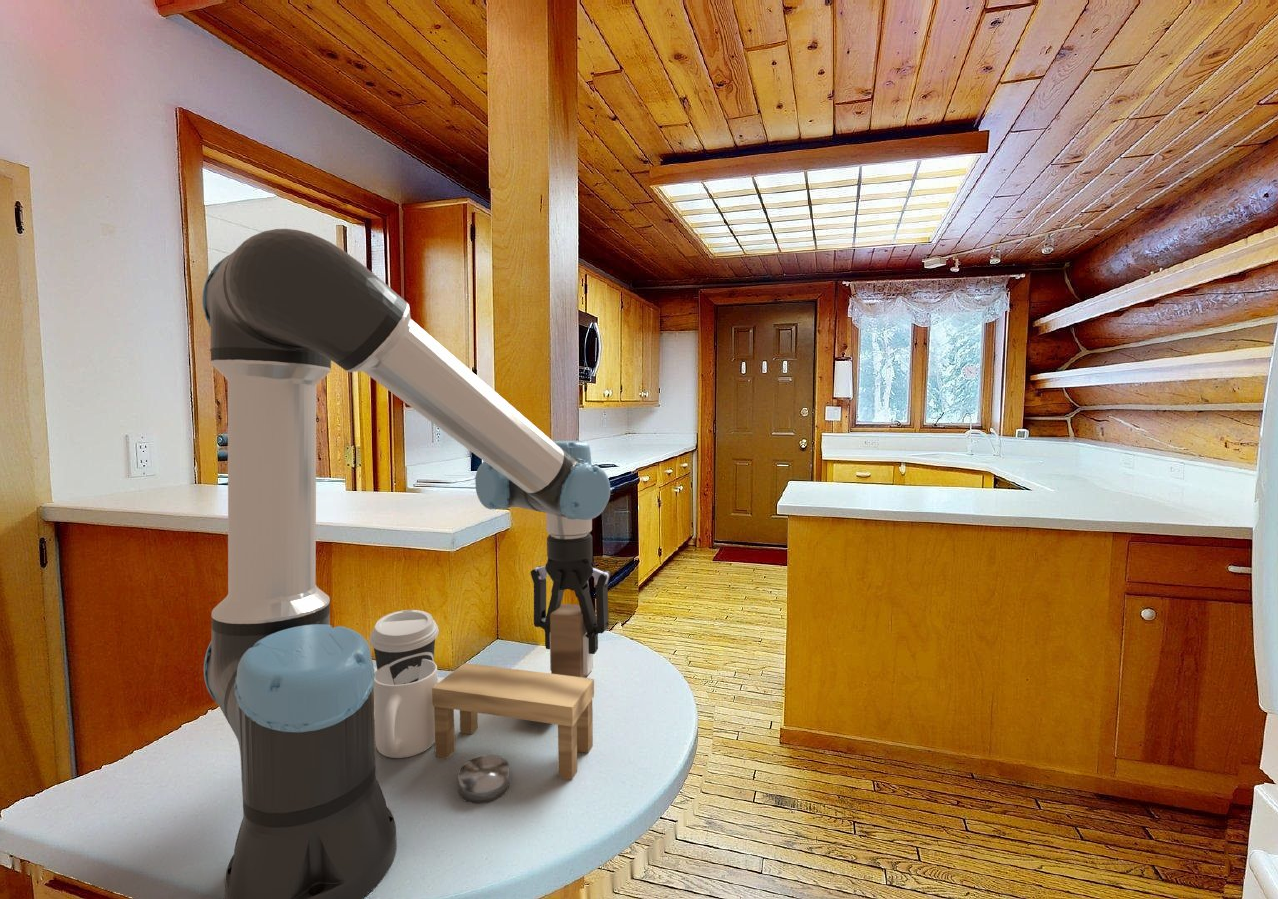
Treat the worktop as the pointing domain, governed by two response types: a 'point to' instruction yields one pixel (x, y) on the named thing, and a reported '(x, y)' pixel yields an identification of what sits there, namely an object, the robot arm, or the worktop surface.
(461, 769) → the token
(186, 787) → the worktop surface
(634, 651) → the worktop surface
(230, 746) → the worktop surface
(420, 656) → the coffee cup
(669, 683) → the worktop surface
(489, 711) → the riser
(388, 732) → the mug
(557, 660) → the brown l-shaped block
